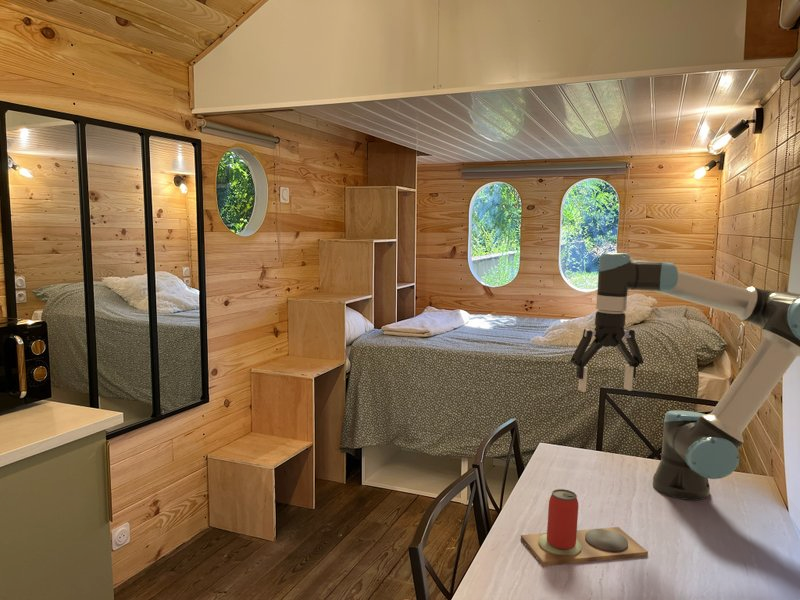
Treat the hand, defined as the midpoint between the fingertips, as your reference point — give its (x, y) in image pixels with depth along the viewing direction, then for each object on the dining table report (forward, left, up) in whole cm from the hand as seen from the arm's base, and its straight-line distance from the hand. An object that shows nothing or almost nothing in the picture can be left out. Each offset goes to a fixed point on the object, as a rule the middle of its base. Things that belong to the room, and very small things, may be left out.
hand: (605, 390), depth 164 cm
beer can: (+22, +21, -30) cm, 43 cm away
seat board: (+16, +21, -32) cm, 41 cm away
